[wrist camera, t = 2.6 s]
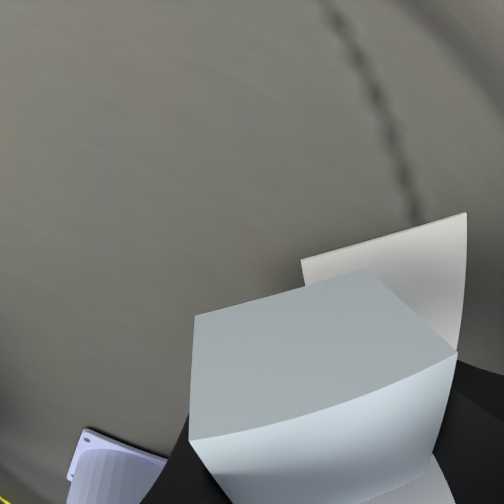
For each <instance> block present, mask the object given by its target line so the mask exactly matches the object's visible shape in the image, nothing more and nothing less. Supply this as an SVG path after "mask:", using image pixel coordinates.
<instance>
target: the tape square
mask: <svg viewBox="0 0 504 504" xmlns="http://www.w3.org/2000/svg"><path fill="white" fill-rule="evenodd" d="M466 254H467V213H466V212H463V213H460V214H457V215H453V216H450V217H447V218H443V219H440V220H437V221H433V222H430V223H426V224H423V225H420V226H416V227H413V228H410V229H406V230H403V231H399V232H396V233H392V234H389V235H385V236H382V237H379V238H375V239H372V240H368V241H365V242H361V243H358V244H354V245H350V246H347V247H343V248H340V249H336V250H333V251H329V252H325V253H322V254H318V255H315V256H311V257H307V258H304V259H300V260H301V265H302V271H303V276H304V281H305V286H308V285H311V284H314V283H318V282H321V281H325V280H328V279H331V278H335V277H338V276H341V275H345V274H348V273H351V272H354V271H358V270H361V269H364V268H365V269H366V270H367V271H368V272H369V273H370V274H372V275H373V276H374V277H375V278H376V279H377V280H379V281H380V282H381V283H382V284H383V285H384V286H386V287H387V288H388V289H389V290H390V291H391V292H392V293H394V294H395V295H396V296H397V297H398V298H399V299H400V300H401V301H403V302H404V303H405V304H406V305H407V306H408V307H409V308H410V309H412V310H413V311H414V312H415V313H416V314H417V315H418V316H419V317H420V318H422V319H423V320H424V321H425V322H426V323H427V324H428V325H429V326H430V327H431V328H432V329H433V330H435V331H436V332H437V333H438V334H439V335H440V336H441V337H442V338H443V339H444V340H445V341H446V342H447V343H448V344H449V345H451V346H452V347H453V348H454V349H455V350H457V344H458V338H459V331H460V324H461V317H462V308H463V299H464V288H465V274H466Z"/></svg>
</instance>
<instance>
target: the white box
mask: <svg viewBox="0 0 504 504" xmlns="http://www.w3.org/2000/svg"><path fill="white" fill-rule="evenodd" d="M457 355H458V352H457V351H456V350H455V349H454V348H453V347H452V346H451V345H449V344H448V343H447V342H446V341H445V340H444V339H443V338H442V337H441V336H440V335H439V334H438V333H437V332H436V331H435V330H433V329H432V328H431V327H430V326H429V325H428V324H427V323H426V322H425V321H424V320H423V319H422V318H420V317H419V316H418V315H417V314H416V313H415V312H414V311H413V310H412V309H410V308H409V307H408V306H407V305H406V304H405V303H404V302H403V301H401V300H400V299H399V298H398V297H397V296H396V295H395V294H394V293H392V292H391V291H390V290H389V289H388V288H387V287H386V286H384V285H383V284H382V283H381V282H380V281H379V280H377V279H376V278H375V277H374V276H373V275H372V274H370V273H369V272H368V271H367V270H366V269H365V268H364V269H361V270H358V271H354V272H351V273H348V274H345V275H341V276H338V277H335V278H331V279H328V280H325V281H321V282H318V283H314V284H311V285H308V286H304V287H301V288H297V289H294V290H290V291H287V292H283V293H279V294H276V295H272V296H269V297H265V298H261V299H258V300H254V301H250V302H246V303H243V304H239V305H235V306H231V307H227V308H223V309H220V310H216V311H212V312H208V313H204V314H200V315H196V316H195V323H194V337H193V353H192V370H191V389H190V412H189V442H190V444H191V445H192V447H193V449H194V450H195V452H196V453H197V454H198V456H199V457H200V459H201V460H202V462H203V463H204V465H205V466H206V468H207V469H208V470H209V472H210V473H211V475H212V476H213V477H214V479H215V480H216V481H217V483H218V484H219V486H220V487H221V488H222V490H223V491H224V492H225V494H226V495H227V496H228V497H229V499H230V500H231V501H232V503H233V504H359V503H362V502H365V501H367V500H370V499H372V498H375V497H377V496H380V495H382V494H385V493H387V492H389V491H392V490H394V489H396V488H398V487H401V486H403V485H405V484H407V483H409V482H411V481H413V480H415V479H417V478H419V477H421V476H423V475H424V473H425V471H426V468H427V465H428V463H429V460H430V457H431V454H432V451H433V448H434V445H435V442H436V439H437V436H438V433H439V430H440V426H441V423H442V420H443V416H444V412H445V409H446V405H447V401H448V397H449V393H450V389H451V384H452V380H453V375H454V370H455V365H456V360H457Z"/></svg>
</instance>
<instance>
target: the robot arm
mask: <svg viewBox="0 0 504 504" xmlns="http://www.w3.org/2000/svg"><path fill="white" fill-rule="evenodd" d="M189 412H190V411H189ZM432 452H433V454H434V456H435V458H436V460H437V462H438V464H439V466H440V468H441V470H442V472H443V474H444V477H445V479H446V481H447V483H448V485H449V488H450V490H451V493H452V495H453V498H454V500H455V503H456V504H504V376H503V375H499V374H496V373H492V372H489V371H486V370H483V369H480V368H477V367H474V366H472V365H469V364H467V363H464V362H462V361H459V360H456V365H455V370H454V375H453V380H452V384H451V389H450V393H449V397H448V401H447V405H446V409H445V412H444V416H443V420H442V423H441V426H440V430H439V433H438V436H437V439H436V442H435V445H434V448H433V451H432ZM67 479H68V480H69V481H71V482H72V483H71V487H70V491H69V495H68V498H67V502H66V504H233V503H232V501H231V500H230V499H229V497H228V496H227V495H226V494H225V492H224V491H223V490H222V488H221V487H220V486H219V484H218V483H217V481H216V480H215V479H214V477H213V476H212V475H211V473H210V472H209V470H208V469H207V468H206V466H205V465H204V463H203V462H202V460H201V459H200V457H199V456H198V454H197V453H196V452H195V450H194V449H193V447H192V445H191V444H190V442H189V414H188V416H187V419H186V421H185V424H184V426H183V429H182V431H181V433H180V435H179V438H178V440H177V442H176V444H175V446H174V449H173V450H172V452H171V454H170V456H169V458H168V459H165V458H162V457H159V456H156V455H153V454H150V453H147V452H144V451H142V450H139V449H136V448H133V447H131V446H128V445H126V444H123V443H121V442H118V441H116V440H113V439H111V438H109V437H106V436H104V435H102V434H99V433H97V432H95V431H93V430H90V429H84V430H83V431H82V434H81V437H80V439H79V442H78V445H77V448H76V451H75V453H74V456H73V459H72V462H71V465H70V468H69V471H68V474H67Z"/></svg>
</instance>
